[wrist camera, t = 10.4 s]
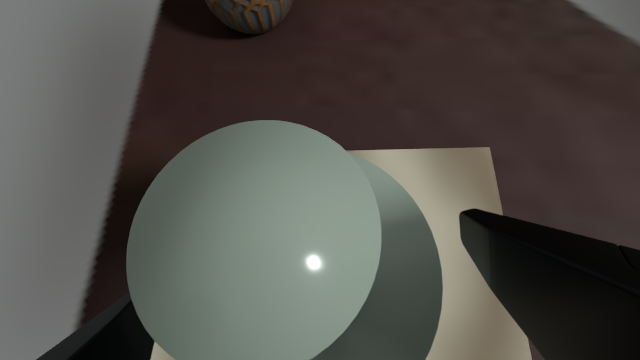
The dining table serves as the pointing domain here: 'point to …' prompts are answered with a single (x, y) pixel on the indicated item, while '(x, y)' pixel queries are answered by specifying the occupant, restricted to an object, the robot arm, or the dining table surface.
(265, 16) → the vase
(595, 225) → the dining table surface
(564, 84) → the dining table surface
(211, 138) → the oil bottle
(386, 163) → the birch board
